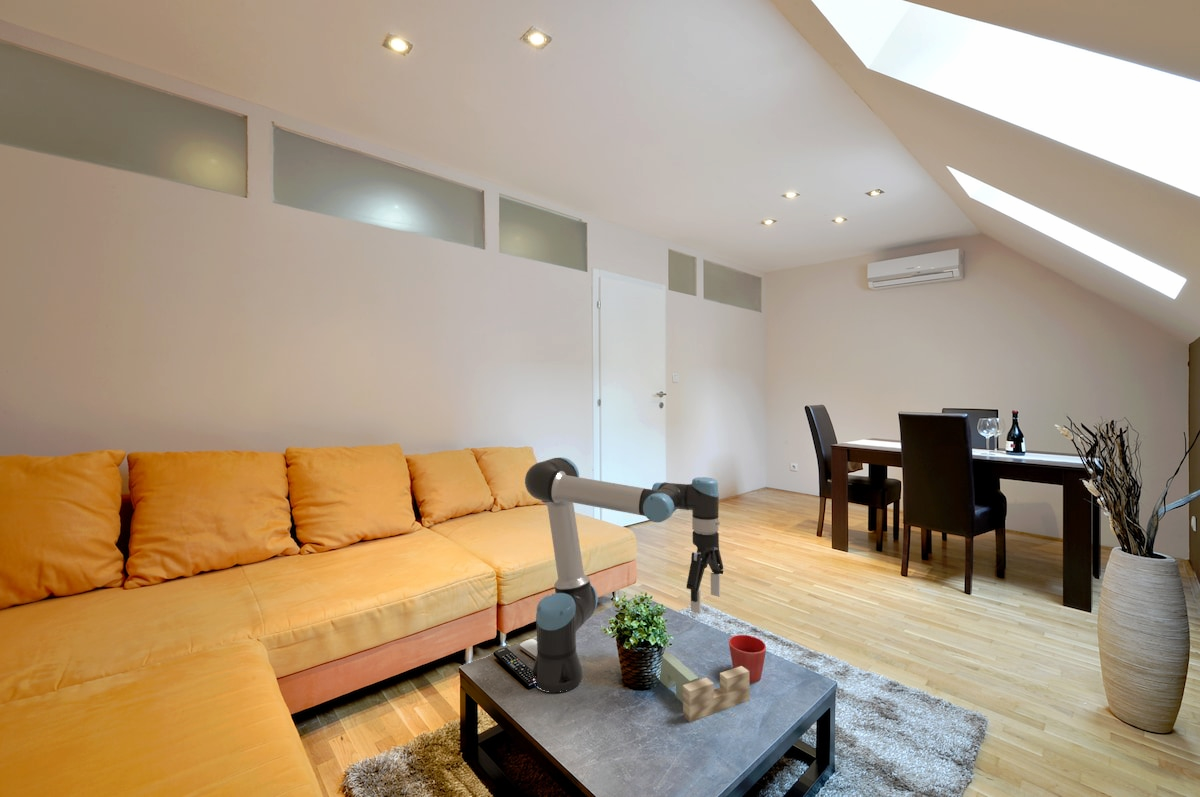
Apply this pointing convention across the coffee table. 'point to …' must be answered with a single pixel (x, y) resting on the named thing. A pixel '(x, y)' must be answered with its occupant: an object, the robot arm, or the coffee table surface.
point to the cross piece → (675, 674)
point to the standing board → (715, 694)
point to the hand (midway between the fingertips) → (705, 603)
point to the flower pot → (748, 655)
